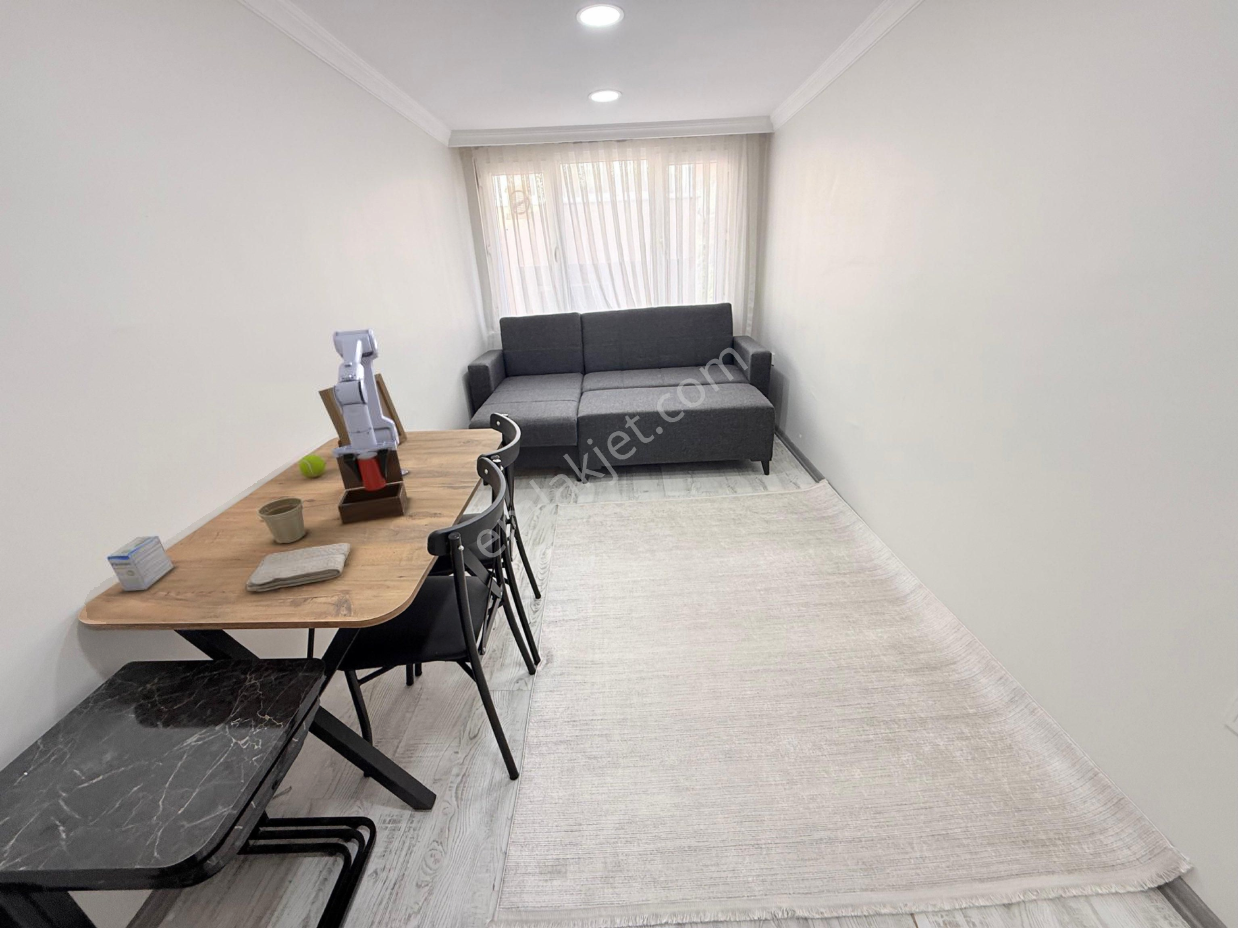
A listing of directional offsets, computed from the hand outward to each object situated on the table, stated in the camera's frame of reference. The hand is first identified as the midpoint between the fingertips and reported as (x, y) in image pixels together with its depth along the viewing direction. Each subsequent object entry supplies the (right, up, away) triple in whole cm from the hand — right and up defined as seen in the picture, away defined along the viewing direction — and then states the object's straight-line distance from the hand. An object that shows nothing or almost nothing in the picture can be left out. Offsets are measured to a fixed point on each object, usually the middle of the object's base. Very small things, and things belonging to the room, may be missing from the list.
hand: (373, 478), depth 128 cm
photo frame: (-24, +9, +46) cm, 53 cm away
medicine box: (-38, -21, -21) cm, 48 cm away
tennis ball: (-31, 0, +27) cm, 41 cm away
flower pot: (-16, -14, -7) cm, 23 cm away
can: (0, -2, +1) cm, 2 cm away
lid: (-2, +3, +3) cm, 5 cm away
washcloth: (-5, -20, -21) cm, 29 cm away
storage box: (-1, -9, +3) cm, 10 cm away
